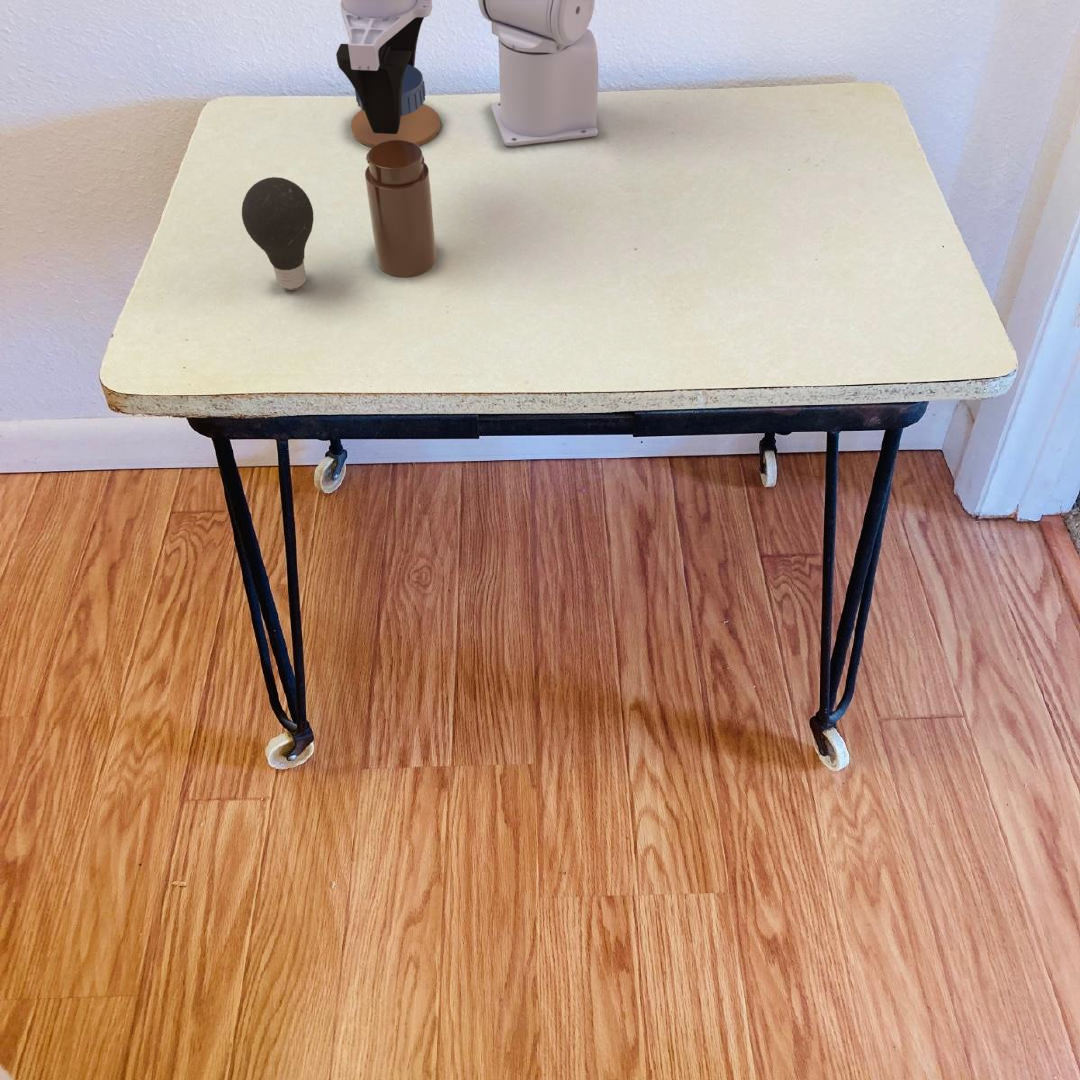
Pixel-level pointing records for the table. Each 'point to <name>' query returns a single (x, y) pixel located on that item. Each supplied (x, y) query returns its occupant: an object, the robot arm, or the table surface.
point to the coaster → (412, 128)
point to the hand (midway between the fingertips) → (392, 113)
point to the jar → (400, 208)
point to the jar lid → (409, 91)
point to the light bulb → (280, 226)
